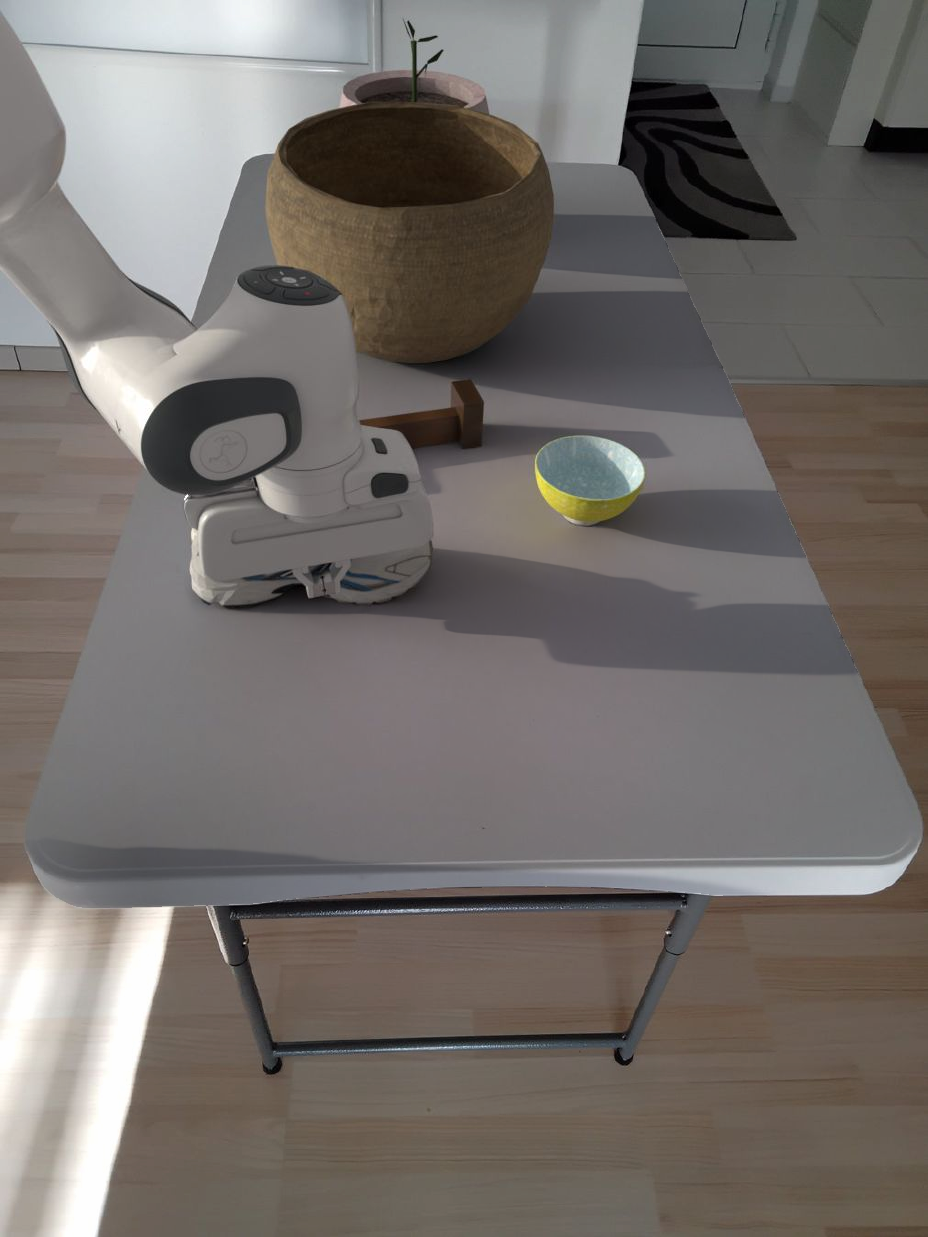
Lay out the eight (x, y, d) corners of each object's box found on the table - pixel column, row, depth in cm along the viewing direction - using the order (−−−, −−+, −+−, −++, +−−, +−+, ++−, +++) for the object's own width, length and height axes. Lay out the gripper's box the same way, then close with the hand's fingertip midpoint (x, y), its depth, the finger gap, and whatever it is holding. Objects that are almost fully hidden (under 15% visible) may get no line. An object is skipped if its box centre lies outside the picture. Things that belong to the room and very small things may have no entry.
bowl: (609, 473, 104) (617, 427, 100) (653, 537, 97) (664, 489, 92) (515, 489, 102) (519, 442, 97) (553, 555, 94) (559, 508, 90)
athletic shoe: (442, 596, 89) (434, 482, 82) (199, 641, 84) (171, 523, 78) (419, 550, 97) (410, 443, 91) (196, 588, 92) (170, 478, 86)
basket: (530, 280, 139) (557, 102, 120) (534, 423, 116) (569, 231, 97) (295, 256, 137) (286, 72, 119) (252, 396, 114) (232, 196, 95)
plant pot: (484, 270, 140) (495, 44, 119) (328, 260, 141) (311, 34, 119) (492, 208, 157) (504, 1, 136) (353, 199, 158) (342, -8, 136)
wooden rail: (216, 485, 100) (207, 439, 96) (211, 459, 104) (202, 413, 99) (481, 446, 107) (484, 401, 103) (468, 423, 111) (470, 378, 106)
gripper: (181, 511, 70) (211, 636, 80) (439, 472, 75) (438, 594, 85) (175, 463, 75) (204, 588, 84) (420, 429, 79) (421, 551, 89)
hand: (323, 591), depth 85 cm, fingers closed
